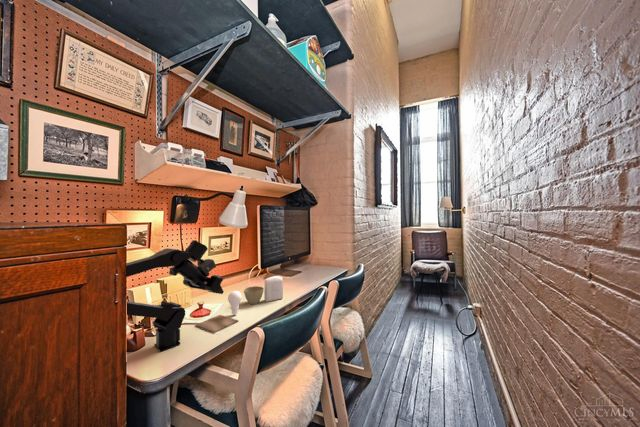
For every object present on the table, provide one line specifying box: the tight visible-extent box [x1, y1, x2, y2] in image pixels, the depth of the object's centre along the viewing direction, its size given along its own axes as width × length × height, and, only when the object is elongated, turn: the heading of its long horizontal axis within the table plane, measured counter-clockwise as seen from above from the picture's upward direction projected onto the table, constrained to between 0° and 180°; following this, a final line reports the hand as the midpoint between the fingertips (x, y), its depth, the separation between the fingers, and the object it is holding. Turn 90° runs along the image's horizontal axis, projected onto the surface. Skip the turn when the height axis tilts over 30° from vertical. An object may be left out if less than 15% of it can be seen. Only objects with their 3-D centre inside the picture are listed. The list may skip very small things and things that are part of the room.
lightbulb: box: [227, 290, 243, 316], centre depth 117 cm, size 6×6×11 cm
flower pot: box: [243, 285, 265, 305], centre depth 133 cm, size 10×10×7 cm
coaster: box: [194, 314, 239, 334], centre depth 108 cm, size 12×12×1 cm
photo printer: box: [263, 275, 284, 302], centre depth 138 cm, size 10×4×12 cm, turn 123°
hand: (215, 291), depth 108 cm, fingers open, 9 cm apart
